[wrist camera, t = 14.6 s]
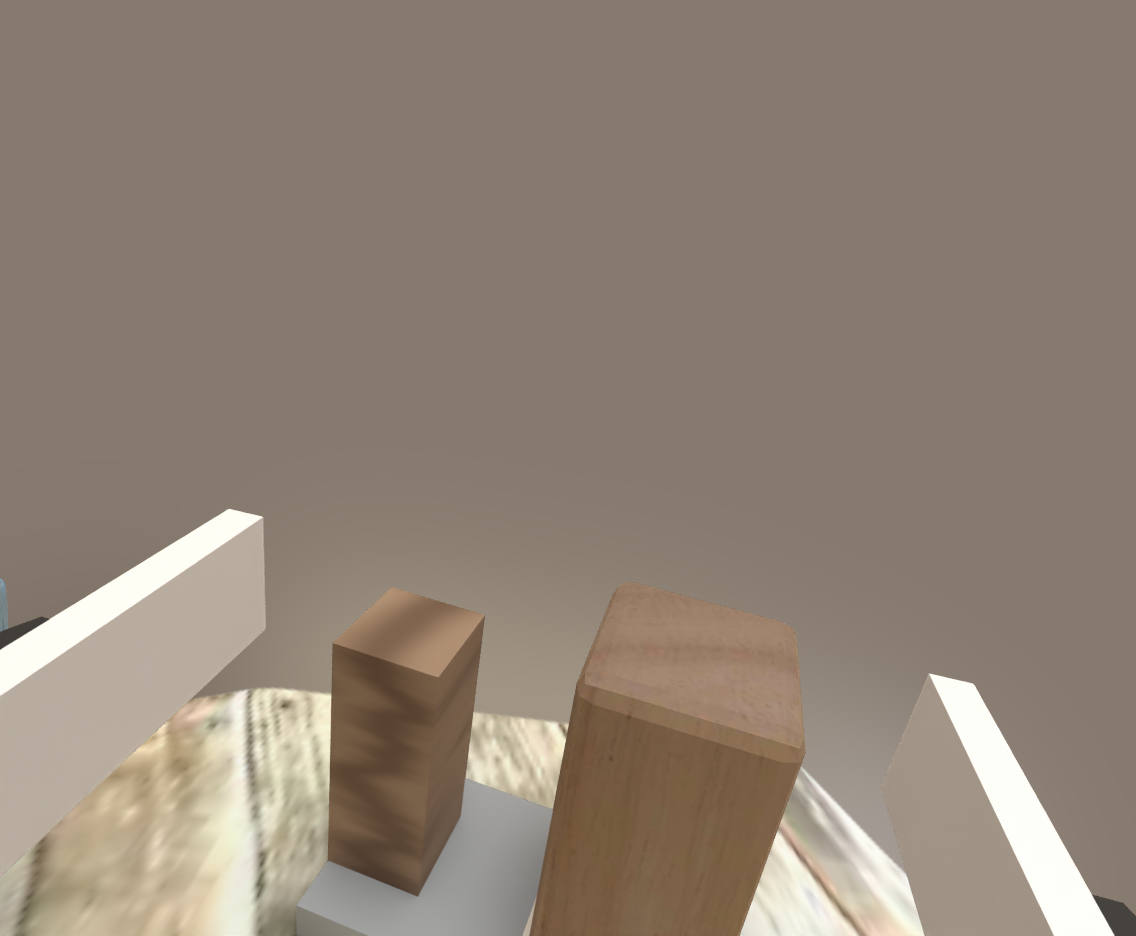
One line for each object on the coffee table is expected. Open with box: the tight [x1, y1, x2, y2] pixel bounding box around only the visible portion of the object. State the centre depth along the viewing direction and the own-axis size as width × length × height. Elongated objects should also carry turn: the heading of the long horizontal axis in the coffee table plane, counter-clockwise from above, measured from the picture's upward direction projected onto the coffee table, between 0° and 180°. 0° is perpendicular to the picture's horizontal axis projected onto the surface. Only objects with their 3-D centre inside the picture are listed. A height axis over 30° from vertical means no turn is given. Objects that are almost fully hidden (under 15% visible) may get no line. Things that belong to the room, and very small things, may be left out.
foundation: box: [296, 778, 553, 936], centre depth 42 cm, size 24×12×3 cm, turn 74°
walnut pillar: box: [328, 587, 485, 897], centre depth 40 cm, size 6×6×16 cm
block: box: [529, 582, 805, 936], centre depth 36 cm, size 10×10×20 cm
